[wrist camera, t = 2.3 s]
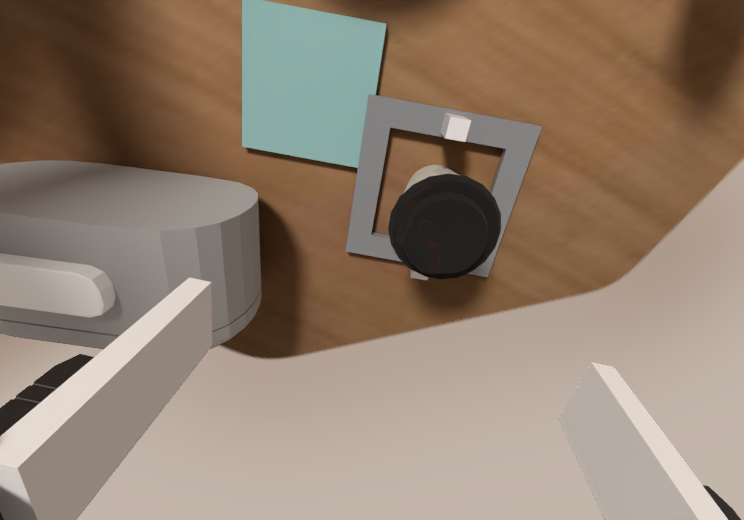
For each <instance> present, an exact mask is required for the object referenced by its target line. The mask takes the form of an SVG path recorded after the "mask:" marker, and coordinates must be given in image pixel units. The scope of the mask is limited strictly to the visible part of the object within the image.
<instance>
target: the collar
mask: <svg viewBox="0 0 744 520" xmlns="http://www.w3.org/2000/svg"><path fill="white" fill-rule="evenodd" d="M390 128H396V129H401V130H406V131H412V132H417V133H423V134H428V135H433V136H439V137H444V138H446V139H451V140H456V141H462V142H471V143H476V144H482V145H487V146H493V147H498V148H503V151H502V155H501V158H500V161H499V164H498V167H497V170H496V173H495V176H494V179H493V182H492V185H491V189H490V193H491V194H492V195H493V197H494V198H495V200H496V202H497V205H498V208H499V210H500V213H501V232H500V235H499V238H498V241H497V244H496V247H495V249H494V250H493V251H492V253H491V254H490V256H489V257H488V258H487V260H486V261H485V262H484V263H483V264H481V265H480V266H479V267H477V268H476V269H475V270H473V271H472V272H470V273H467V274H472V275H477V276H483V277H488V275H489V272H490V269H491V267H492V264H493V261H494V258H495V255H496V253H497V250H498V247H499V244H500V242H501V239H502V236H503V233H504V231H505V228H506V225H507V222H508V220H509V217H510V214H511V211H512V208H513V206H514V203H515V200H516V197H517V195H518V192H519V189H520V186H521V184H522V181H523V178H524V175H525V172H526V170H527V167H528V164H529V161H530V159H531V156H532V153H533V150H534V148H535V145H536V142H537V139H538V137H539V134H540V131H541V128H542V126H539V125H534V124H529V123H524V122H518V121H513V120H508V119H502V118H497V117H492V116H486V115H481V114H475V113H470V112H465V111H459V110H454V109H449V108H443V107H438V106H432V105H427V104H422V103H416V102H411V101H406V100H400V99H395V98H389V97H384V96H379V95H372V94H369V95H368V102H367V109H366V116H365V123H364V129H363V136H362V143H361V150H360V157H359V163H358V170H357V177H356V184H355V191H354V197H353V204H352V211H351V218H350V225H349V232H348V238H347V245H346V252H351V253H357V254H362V255H368V256H373V257H379V258H384V259H390V260H395V261H401V260H400V259H399V258H398V256H397V255H396V253H395V251H394V249H393V247H392V245H391V242H390V236H389V235H387V234H381V233H376V232H372V228H373V222H374V217H375V211H376V205H377V200H378V194H379V189H380V183H381V178H382V172H383V166H384V161H385V155H386V150H387V144H388V138H389V133H390ZM401 262H402V261H401ZM410 276H411V278H416V279H421V280H428V277H425V276H423V275H421V274H419V273H417V272H415V271H413V270H411V269H410Z"/></svg>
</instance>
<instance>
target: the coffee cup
mask: <svg viewBox="0 0 744 520" xmlns="http://www.w3.org/2000/svg"><path fill="white" fill-rule="evenodd" d="M388 230H389V236H390V242H391V245H392V247H393V249H394V251H395V253H396V255H397V256H398V258H399V259H400V260H401V261H402V262H403V263H404V264H405V265H406V266H407V267H409V268H410V269H411V270H413V271H415V272H417V273H419V274H421V275H423V276H425V277H431V278H437V279H448V278H457V277H460V276H462V275H465V274H467V273H470V272H472V271H473V270H475V269H476V268H477V267H479V266H480V265H481V264H483V263H484V262H485V261H486V260H487V258H488V257H489V256H490V254H491V253H492V251H493V250H494V249H495V247H496V244H497V241H498V238H499V235H500V232H501V213H500V210H499V208H498V205H497V202H496V200H495V198H494V197H493V195H492V194H491V193H490V192H489V191H488V190H487V189H486V188H485V187H484V185H482V184H480V183H478V182H477V181H475V180H473V179H471V178H469V177H467V176H461V175H459V174H457V173H455V172H454V171H452V170H450V169H449V168H447V167H445V166H441V165H430V166H425V167H423V168H421V169H419V170H418V171H417V172H416V173H415V174H414V175H412V177H411V178H410V180H409V182H408V184H407V186H406V188H405V191H404V193H403V194H402V195H401V196H400V197H399V199H398V201H397V203H396V205H395V206H394V208H393V210H392V212H391V216H390V222H389V228H388Z"/></svg>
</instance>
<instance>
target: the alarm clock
mask: <svg viewBox="0 0 744 520" xmlns="http://www.w3.org/2000/svg"><path fill="white" fill-rule="evenodd" d="M189 277H190V278H195V279H199V280H204V281H209V282H211V289H212V346H211V348H213V347H216V346H218V345H220V344H222V343H224V342H226V341H228V340H230V339H231V338H232V337H234V336H235V335H236V334H237V333H239V332H240V331H241V330H243V329H244V328H245V327H246V326H247V325H248V323H249V322H250V321H251V320H252V318H253V317H254V316H255V314H256V312H257V310H258V308H259V305H260V303H261V265H260V236H259V207H258V193H257V192H256V191H255V190H254V189H253V188H252V187H249V186H247V185H244V184H242V183H239V182H234V181H228V180H222V179H216V178H210V177H204V176H197V175H189V174H181V173H173V172H166V171H158V170H150V169H143V168H135V167H127V166H120V165H112V164H102V163H91V162H80V161H27V162H14V163H5V164H0V333H1V334H6V335H9V336H13V337H20V338H27V339H35V340H42V341H50V342H56V343H63V344H71V345H78V346H85V347H92V348H99V349H105V348H106V347H107V346H108V345H109V344H111V343H112V342H113V341H114V340H115V339H117V338H118V337H119V336H120V335H121V334H123V333H124V332H125V331H126V330H127V329H129V328H130V327H131V326H132V325H133V324H134V323H136V322H137V321H138V320H139V319H140V318H142V317H143V316H144V315H145V314H146V313H148V312H149V311H150V310H151V309H152V308H154V307H155V306H156V305H157V304H158V303H159V302H161V301H162V300H163V299H164V298H165V297H167V296H168V295H169V294H170V293H171V292H173V291H174V290H175V289H176V288H177V287H179V286H180V285H181V284H182V283H183V282H184V281H186V280H187V279H188V278H189ZM211 348H210V349H211Z"/></svg>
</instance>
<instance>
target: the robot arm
mask: <svg viewBox="0 0 744 520" xmlns="http://www.w3.org/2000/svg"><path fill="white" fill-rule="evenodd" d="M211 346H212V289H211V282H209V281H204V280H199V279H195V278H190V277H189V278H188V279H187V280H186V281H184V282H183V283H182V284H181V285H180V286H179V287H177V288H176V289H175V290H174V291H173V292H171V293H170V294H169V295H168V296H167V297H165V298H164V299H163V300H162V301H161V302H159V303H158V304H157V305H156V306H155V307H154V308H152V309H151V310H150V311H149V312H148V313H146V314H145V315H144V316H143V317H142V318H140V319H139V320H138V321H137V322H136V323H134V324H133V325H132V326H131V327H130V328H129V329H127V330H126V331H125V332H124V333H123V334H121V335H120V336H119V337H118V338H117V339H115V340H114V341H113V342H112V343H111V344H109V345H108V346H107V347H106V348H105V349H104V350H102V351H101V352H100V353H99V354H98V355H96V356H95V357H91V356H87V355H82V354H79V355H77V356H75V357H73V358H71V359H69V360H67V361H64V362H62V363H60V364H58V365H56V366H54V367H53V368H52V369H50V370H49V371H48V372H46V373H45V374H44V375H43V376H41V377H40V378H39V379H37V380H36V381H35V382H34V384H33V385H32V386H28V387H27V388H26V389H25V390H23V391H22V392H21V393H19V394H18V395H17V396H16V398H15V399H14V400H10V401H9V402H8V403H6V404H5V405H4V406H2V407H1V408H0V520H77V519H78V517H79V516H80V515H81V513H82V512H83V511H84V510H85V508H86V507H87V506H88V504H89V503H90V502H91V501H92V499H93V498H94V497H95V495H96V494H97V493H98V492H99V490H100V489H101V488H102V486H103V485H104V484H105V483H106V481H107V480H108V479H109V477H110V476H111V475H112V474H113V472H114V471H115V470H116V468H117V467H118V466H119V465H120V463H121V462H122V461H123V459H124V458H125V457H126V456H127V454H128V453H129V452H130V450H131V449H132V448H133V447H134V445H135V444H136V442H137V441H138V440H139V439H140V438H141V436H142V435H143V434H144V432H145V431H146V430H147V429H148V427H149V426H150V425H151V423H152V422H153V421H154V420H155V418H156V417H157V416H158V414H159V413H160V412H161V411H162V409H163V408H164V407H165V405H166V404H167V403H168V402H169V400H170V399H171V398H172V396H173V395H174V394H175V393H176V391H177V390H178V389H179V387H180V386H181V385H182V383H183V382H184V381H185V380H186V378H187V377H188V376H189V375H190V373H191V372H192V371H193V369H194V368H195V367H196V366H197V364H198V363H199V362H200V360H201V359H202V358H203V357H204V355H205V354H206V353H207V352H208V350H209V349H210V348H211ZM558 420H559V422H560V424H561V427H562V429H563V431H564V433H565V435H566V437H567V439H568V442H569V444H570V446H571V448H572V450H573V453H574V455H575V457H576V459H577V461H578V463H579V466H580V468H581V470H582V472H583V474H584V477H585V479H586V481H587V483H588V485H589V487H590V489H591V492H592V494H593V496H594V498H595V500H596V502H597V505H598V507H599V509H600V511H601V513H602V516H603V517H604V520H741V519H740V518H739V517H738V516H737V514H736V513H735V511H734V510H733V509H732V508H731V507H730V506H729V505H728V504H727V503H726V502H725V501H724V500H723V499H721V498H720V497H719V496H718V495H717V494H716V493H715V492H714V491H713V490H712V489H711V488H710V487H708V486H704V485H702V484H701V483H700V481H699V480H698V479H697V477H696V476H695V475H694V473H693V472H692V471H691V469H690V468H689V467H688V466H687V464H686V463H685V461H684V460H683V459H682V457H681V456H680V455H679V453H678V452H677V451H676V450H675V448H674V447H673V446H672V444H671V443H670V441H669V440H668V439H667V438H666V436H665V435H664V434H663V432H662V431H661V429H660V428H659V427H658V425H657V424H656V423H655V421H654V420H653V419H652V418H651V416H650V415H649V413H648V412H647V411H646V409H645V408H644V407H643V406H642V404H641V403H640V401H639V400H638V399H637V397H636V396H635V395H634V393H633V392H632V391H631V389H630V388H629V387H628V386H627V384H626V383H625V381H624V380H623V379H622V378H621V376H620V375H619V373H618V372H617V371H616V370H615V368H614V367H611V366H605V365H601V364H596V363H591V364H590V366H589V368H588V369H587V371H586V372H585V374H584V376H583V378H582V379H581V381H580V383H579V384H578V386H577V388H576V389H575V391H574V393H573V394H572V396H571V398H570V399H569V401H568V403H567V405H566V406H565V408H564V410H563V411H562V413H561V415H560V416H559V418H558Z"/></svg>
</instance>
